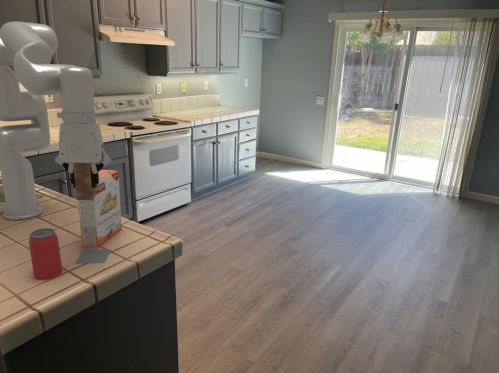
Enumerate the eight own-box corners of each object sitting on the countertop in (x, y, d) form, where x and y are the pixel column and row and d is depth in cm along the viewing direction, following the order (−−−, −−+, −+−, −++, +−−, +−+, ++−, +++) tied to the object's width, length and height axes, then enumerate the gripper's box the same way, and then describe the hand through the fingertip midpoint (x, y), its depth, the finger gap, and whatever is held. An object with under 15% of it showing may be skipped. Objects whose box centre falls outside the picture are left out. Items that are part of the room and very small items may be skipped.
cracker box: (99, 249, 113) (93, 182, 107) (81, 247, 114) (74, 180, 108) (123, 231, 126) (119, 170, 120) (107, 228, 127) (101, 168, 121)
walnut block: (76, 200, 101) (72, 156, 97) (81, 194, 105) (77, 152, 101) (92, 200, 102) (88, 156, 98) (96, 195, 105) (92, 152, 102)
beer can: (40, 268, 102) (34, 227, 99) (66, 268, 103) (61, 227, 99) (29, 281, 96) (22, 238, 92) (56, 281, 97) (50, 238, 93)
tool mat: (74, 265, 104) (74, 263, 104) (83, 251, 112) (82, 249, 112) (105, 264, 105) (104, 262, 105) (111, 251, 113) (111, 249, 113)
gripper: (38, 119, 92) (47, 190, 98) (110, 121, 94) (115, 191, 100) (50, 114, 99) (57, 181, 105) (116, 116, 101) (120, 182, 107)
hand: (85, 185), depth 102 cm, fingers closed on walnut block, 4 cm apart
